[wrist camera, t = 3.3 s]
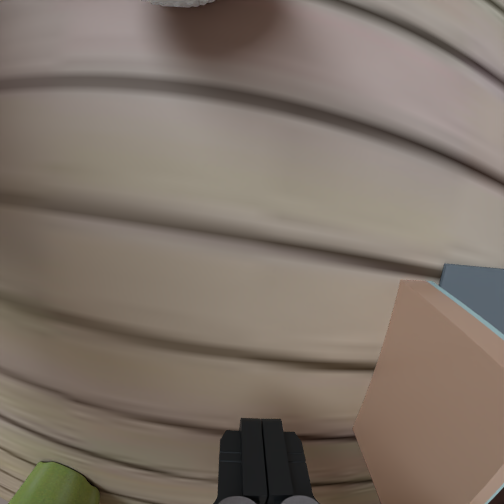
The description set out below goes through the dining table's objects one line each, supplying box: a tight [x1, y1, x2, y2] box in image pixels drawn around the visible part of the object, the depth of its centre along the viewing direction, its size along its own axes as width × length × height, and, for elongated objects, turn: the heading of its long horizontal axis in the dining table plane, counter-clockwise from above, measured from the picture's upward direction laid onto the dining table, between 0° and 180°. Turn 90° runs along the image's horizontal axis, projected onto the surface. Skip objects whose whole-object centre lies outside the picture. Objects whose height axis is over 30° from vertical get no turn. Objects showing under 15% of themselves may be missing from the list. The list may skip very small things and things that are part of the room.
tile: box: [352, 280, 504, 504], centre depth 11 cm, size 10×2×10 cm, turn 174°
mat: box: [439, 264, 504, 335], centre depth 16 cm, size 12×12×1 cm
